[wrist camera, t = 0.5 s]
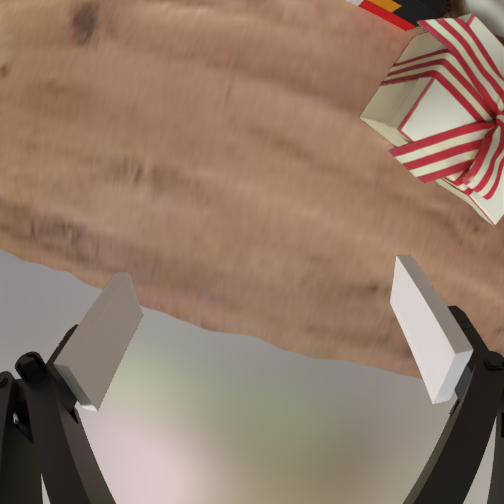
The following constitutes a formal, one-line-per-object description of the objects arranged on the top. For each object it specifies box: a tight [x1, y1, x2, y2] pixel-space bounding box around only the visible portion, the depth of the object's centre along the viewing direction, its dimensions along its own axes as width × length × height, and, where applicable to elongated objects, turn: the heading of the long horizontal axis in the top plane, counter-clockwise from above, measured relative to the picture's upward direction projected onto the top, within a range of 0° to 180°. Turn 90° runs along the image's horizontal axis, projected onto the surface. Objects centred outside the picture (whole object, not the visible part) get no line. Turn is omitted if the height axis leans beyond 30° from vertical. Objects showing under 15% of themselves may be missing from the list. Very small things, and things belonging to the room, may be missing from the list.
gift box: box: [360, 13, 504, 226], centre depth 26 cm, size 17×18×17 cm
